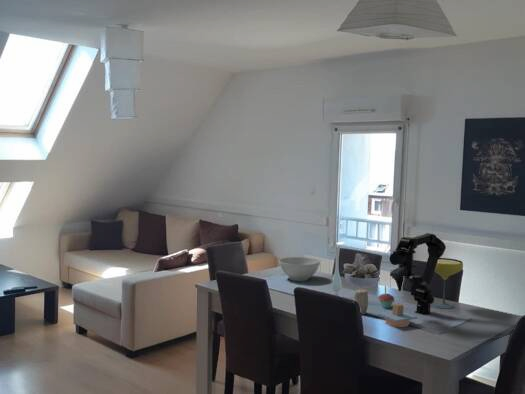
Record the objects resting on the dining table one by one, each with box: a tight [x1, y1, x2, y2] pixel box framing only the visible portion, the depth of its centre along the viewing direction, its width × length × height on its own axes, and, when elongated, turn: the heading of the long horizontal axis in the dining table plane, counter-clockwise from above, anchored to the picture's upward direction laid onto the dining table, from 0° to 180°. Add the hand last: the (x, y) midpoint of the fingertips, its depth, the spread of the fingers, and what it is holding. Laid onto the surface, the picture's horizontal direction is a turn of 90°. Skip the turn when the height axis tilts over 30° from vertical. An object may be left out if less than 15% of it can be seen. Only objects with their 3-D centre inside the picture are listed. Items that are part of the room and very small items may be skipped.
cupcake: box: [378, 285, 395, 309], centre depth 298 cm, size 9×8×12 cm
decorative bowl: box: [278, 256, 321, 282], centre depth 361 cm, size 27×27×12 cm
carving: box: [353, 288, 369, 315], centre depth 286 cm, size 6×8×12 cm
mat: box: [411, 320, 458, 335], centre depth 263 cm, size 15×15×1 cm
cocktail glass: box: [432, 257, 464, 310], centre depth 300 cm, size 18×18×25 cm
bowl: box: [385, 317, 411, 328], centre depth 268 cm, size 11×11×4 cm
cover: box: [378, 302, 418, 322], centre depth 267 cm, size 13×13×6 cm
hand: (405, 293), depth 277 cm, fingers open, 9 cm apart
